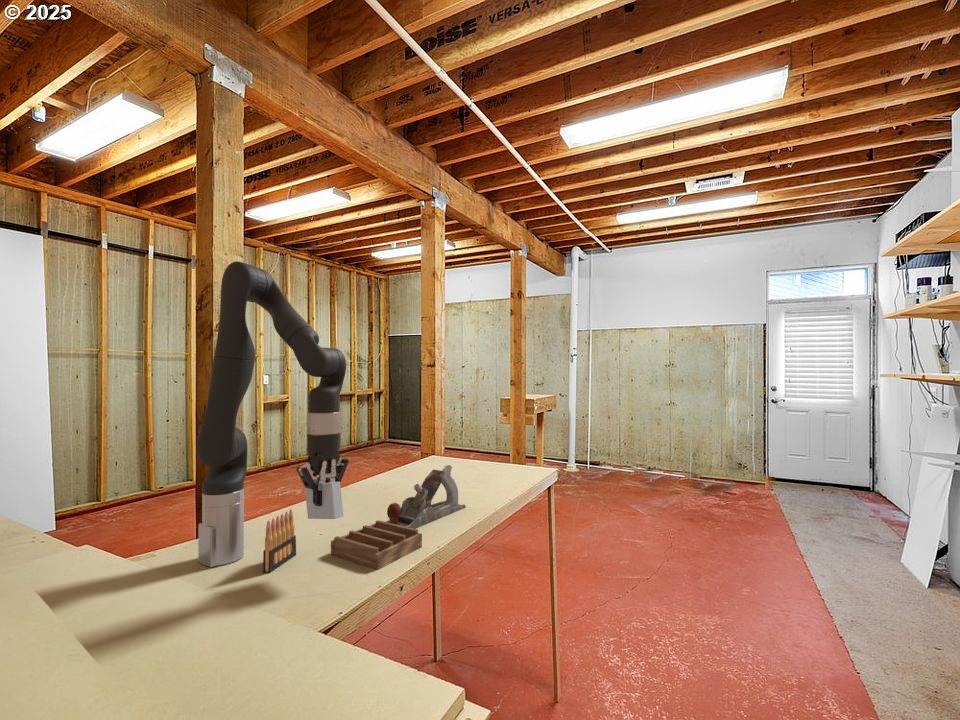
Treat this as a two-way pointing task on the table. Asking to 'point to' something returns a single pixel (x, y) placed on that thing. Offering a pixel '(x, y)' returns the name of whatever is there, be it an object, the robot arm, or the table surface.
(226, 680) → the table surface
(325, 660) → the table surface
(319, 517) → the tile
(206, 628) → the table surface
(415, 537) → the rack
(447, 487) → the hand plane
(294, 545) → the ammunition clip
